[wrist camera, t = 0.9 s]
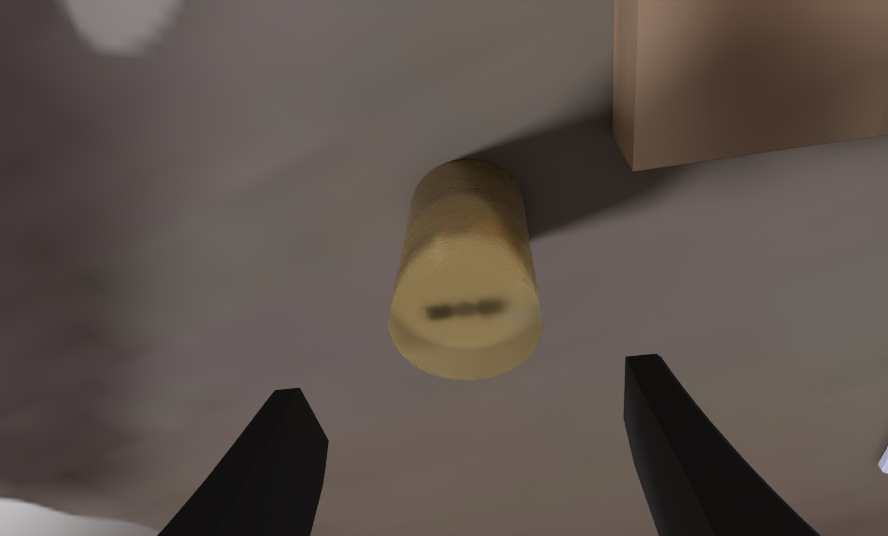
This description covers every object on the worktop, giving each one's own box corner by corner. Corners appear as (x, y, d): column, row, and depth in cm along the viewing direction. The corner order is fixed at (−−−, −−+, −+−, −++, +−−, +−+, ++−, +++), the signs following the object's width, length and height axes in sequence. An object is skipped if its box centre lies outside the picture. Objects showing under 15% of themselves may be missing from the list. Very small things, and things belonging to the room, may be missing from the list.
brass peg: (517, 150, 17) (535, 258, 12) (528, 249, 19) (547, 373, 14) (399, 168, 17) (370, 278, 12) (423, 263, 19) (408, 385, 15)
